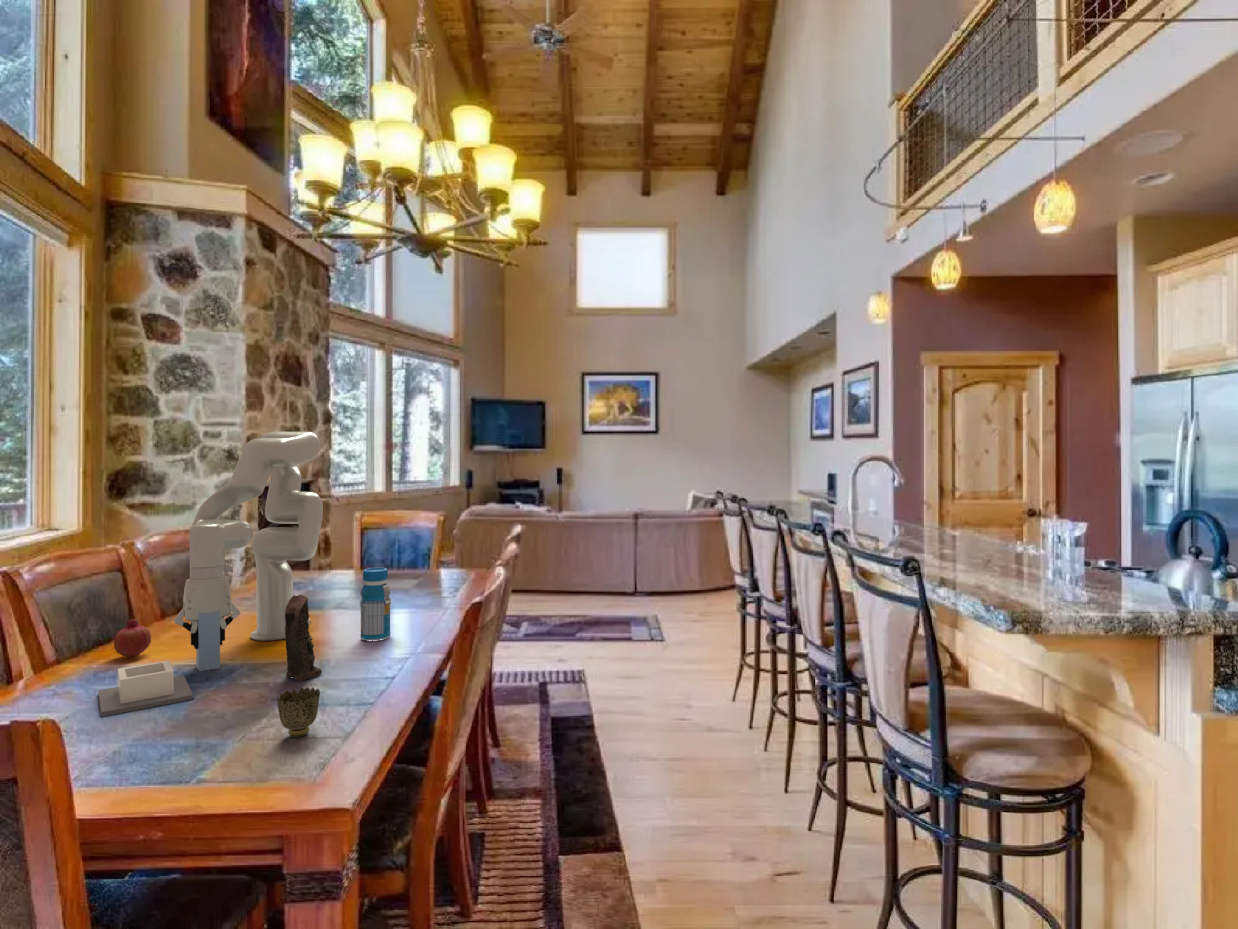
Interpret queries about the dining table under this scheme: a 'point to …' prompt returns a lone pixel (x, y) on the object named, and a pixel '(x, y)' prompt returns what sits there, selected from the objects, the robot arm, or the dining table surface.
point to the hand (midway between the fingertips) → (208, 645)
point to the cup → (298, 710)
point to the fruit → (132, 639)
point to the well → (144, 689)
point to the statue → (299, 640)
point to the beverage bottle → (375, 605)
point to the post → (208, 641)
